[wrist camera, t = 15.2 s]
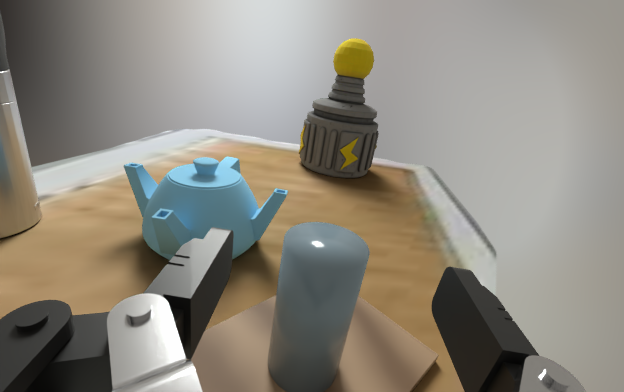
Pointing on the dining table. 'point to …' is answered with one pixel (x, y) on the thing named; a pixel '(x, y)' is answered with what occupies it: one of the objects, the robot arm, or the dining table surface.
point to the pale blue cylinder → (314, 304)
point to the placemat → (352, 369)
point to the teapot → (200, 205)
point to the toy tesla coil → (342, 119)
